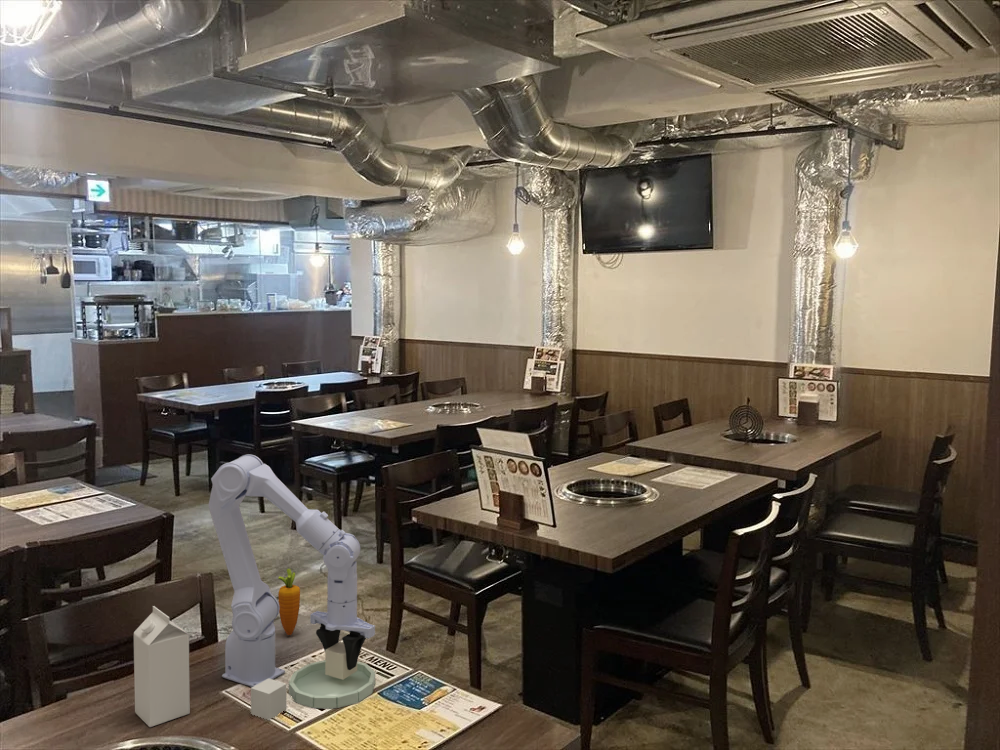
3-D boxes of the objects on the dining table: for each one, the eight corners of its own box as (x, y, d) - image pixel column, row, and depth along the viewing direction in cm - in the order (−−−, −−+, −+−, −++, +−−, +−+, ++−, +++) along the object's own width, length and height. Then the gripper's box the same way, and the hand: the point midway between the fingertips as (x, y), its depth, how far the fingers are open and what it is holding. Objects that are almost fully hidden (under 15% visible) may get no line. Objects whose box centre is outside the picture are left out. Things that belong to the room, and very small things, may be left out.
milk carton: (174, 699, 147) (172, 601, 145) (190, 714, 142) (188, 612, 140) (134, 713, 142) (132, 611, 140) (149, 728, 137) (147, 622, 135)
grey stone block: (250, 714, 142) (250, 688, 142) (268, 704, 146) (268, 678, 146) (269, 720, 140) (269, 694, 140) (286, 710, 144) (286, 683, 144)
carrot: (294, 641, 173) (294, 575, 172) (273, 639, 174) (273, 573, 173) (304, 632, 178) (304, 567, 177) (284, 630, 179) (284, 566, 178)
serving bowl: (272, 694, 149) (272, 684, 149) (327, 662, 163) (327, 652, 163) (338, 716, 142) (338, 705, 142) (390, 680, 156) (390, 670, 156)
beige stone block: (325, 674, 154) (325, 649, 153) (339, 665, 158) (339, 641, 157) (343, 679, 152) (343, 654, 151) (357, 670, 156) (357, 646, 155)
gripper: (299, 597, 154) (299, 664, 155) (359, 612, 147) (358, 681, 148) (323, 586, 160) (323, 650, 161) (381, 600, 153) (381, 667, 154)
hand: (341, 664), depth 155 cm, fingers closed on beige stone block, 4 cm apart
